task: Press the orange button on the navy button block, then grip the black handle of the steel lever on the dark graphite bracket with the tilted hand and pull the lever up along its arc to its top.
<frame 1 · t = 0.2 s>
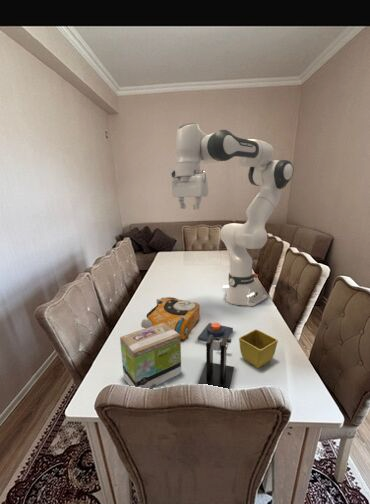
hand: (189, 209, 100), 48 cm above the table, tool pointing down, fingers open, 8 cm apart
tea box: (153, 377, 77), on the table
lever: (220, 342, 77), point 9 cm above the table, hinge at -25.0°
button: (215, 326, 96), point 5 cm above the table, slide at 0.2 cm
button block: (215, 337, 97), on the table
device: (172, 323, 109), on the table
bracket: (216, 380, 75), on the table
flower pot: (256, 363, 82), on the table
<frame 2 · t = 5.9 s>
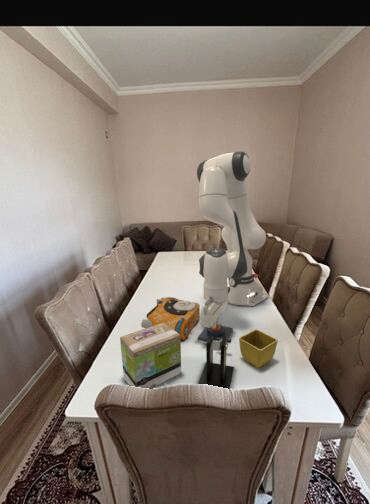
hand: (214, 326, 96), 5 cm above the table, tool pointing down, fingers closed, pressing on button
button: (215, 328, 96), point 4 cm above the table, slide at -0.7 cm, touching gripper
everything else where it was.
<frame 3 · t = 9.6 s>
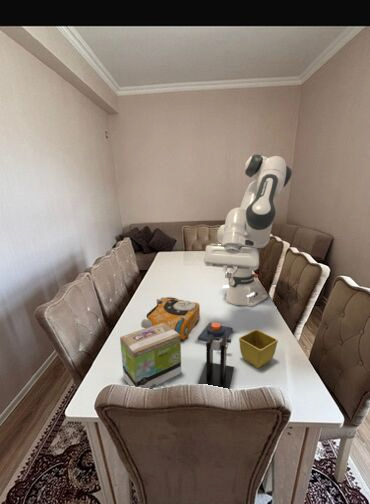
hand: (229, 277, 91), 24 cm above the table, tool tilted 45°, fingers closed
button: (215, 326, 96), point 5 cm above the table, slide at 0.1 cm
everything else where it was.
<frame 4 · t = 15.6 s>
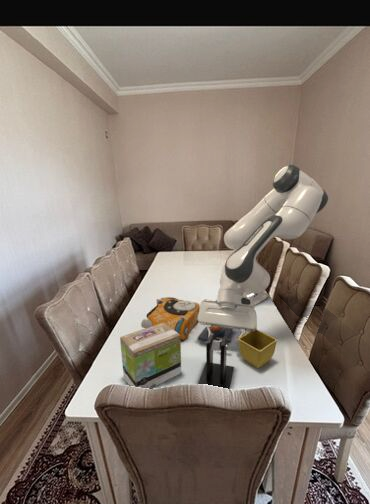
hand: (224, 340, 83), 6 cm above the table, tool tilted 45°, fingers open, 8 cm apart
flower pot: (256, 362, 82), on the table, touching gripper
everything else where it was.
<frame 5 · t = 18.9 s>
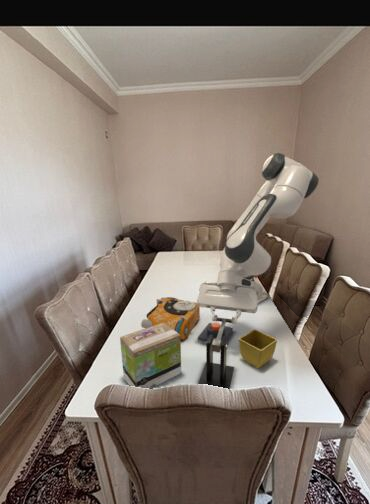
hand: (224, 322, 82), 13 cm above the table, tool tilted 45°, fingers closed on lever, 5 cm apart
lever: (220, 332, 76), point 13 cm above the table, hinge at 5.7°, touching gripper
flower pot: (255, 363, 82), on the table
everything else where it was.
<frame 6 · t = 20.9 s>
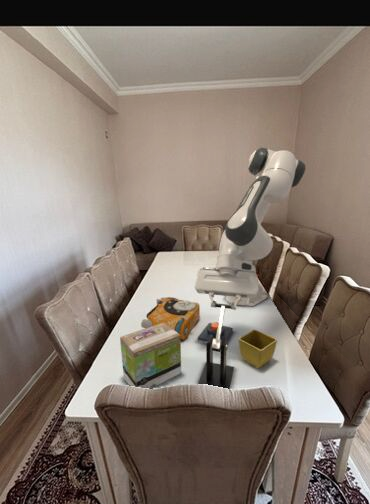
hand: (223, 307, 78), 19 cm above the table, tool tilted 45°, fingers closed on lever, 5 cm apart
lever: (220, 325, 75), point 15 cm above the table, hinge at 34.9°, touching gripper
everything else where it was.
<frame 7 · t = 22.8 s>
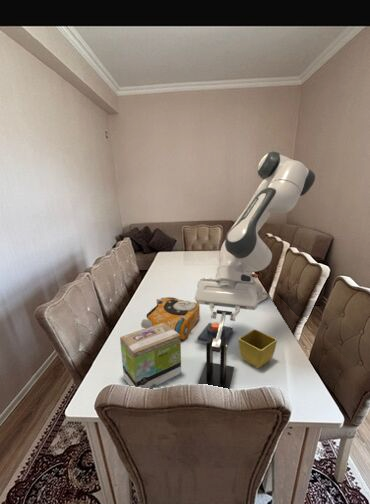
hand: (222, 319, 79), 15 cm above the table, tool tilted 45°, fingers open, 5 cm apart
lever: (220, 328, 76), point 14 cm above the table, hinge at 19.7°
everything else where it was.
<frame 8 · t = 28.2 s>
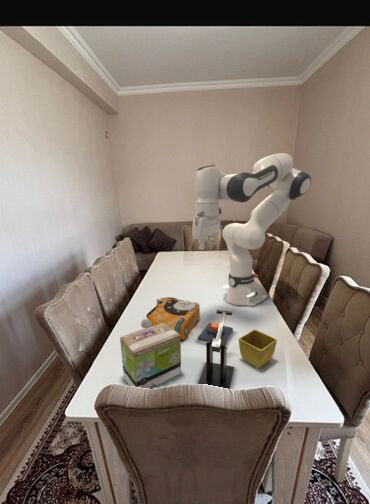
hand: (206, 246, 99), 33 cm above the table, tool pointing down, fingers open, 8 cm apart
nothing on the table moved.
at the end: lever at +20° (first picture: -25°); button pushed in 1.1 cm at the most during the clip, back to where it started at the end; button slide at 0.1 cm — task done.
